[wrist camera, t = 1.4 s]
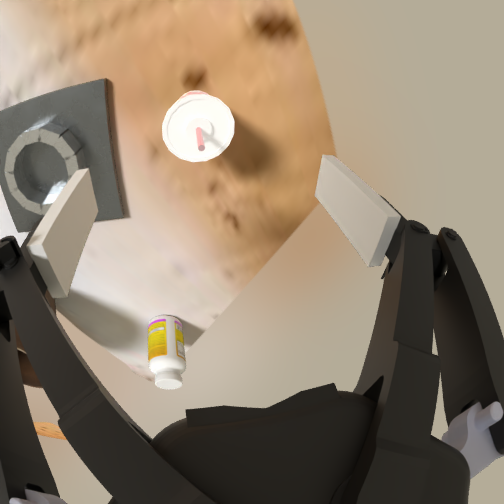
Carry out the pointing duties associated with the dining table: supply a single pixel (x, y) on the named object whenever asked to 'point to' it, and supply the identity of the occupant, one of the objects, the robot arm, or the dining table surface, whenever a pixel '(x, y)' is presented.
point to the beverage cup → (198, 127)
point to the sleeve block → (57, 151)
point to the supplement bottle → (166, 351)
